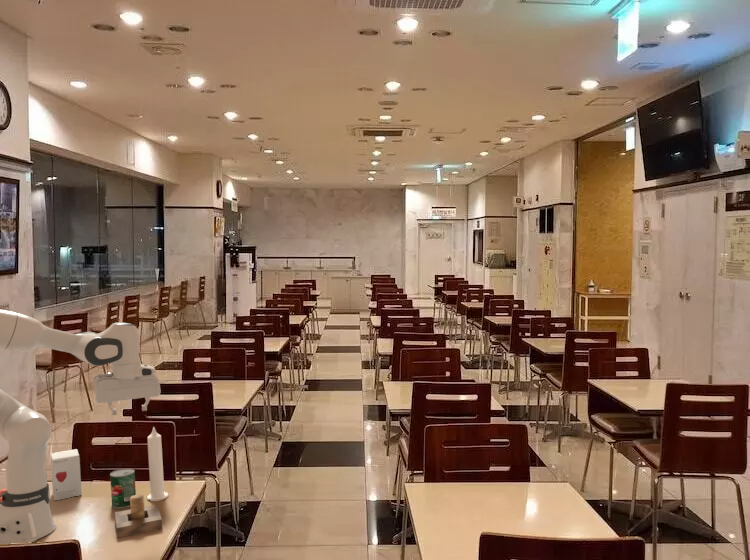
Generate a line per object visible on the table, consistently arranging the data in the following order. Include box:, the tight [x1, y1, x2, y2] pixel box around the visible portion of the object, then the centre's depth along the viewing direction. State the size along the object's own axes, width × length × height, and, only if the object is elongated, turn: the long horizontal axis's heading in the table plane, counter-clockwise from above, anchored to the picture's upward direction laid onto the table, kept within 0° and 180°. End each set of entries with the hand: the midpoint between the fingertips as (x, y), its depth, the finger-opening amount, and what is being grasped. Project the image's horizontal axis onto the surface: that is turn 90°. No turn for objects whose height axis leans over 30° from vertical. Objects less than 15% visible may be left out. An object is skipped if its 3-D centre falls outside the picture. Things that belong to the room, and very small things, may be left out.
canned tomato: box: [109, 468, 137, 509], centre depth 226 cm, size 8×8×11 cm
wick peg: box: [130, 494, 145, 521], centre depth 209 cm, size 4×4×9 cm
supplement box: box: [50, 448, 83, 501], centre depth 236 cm, size 9×9×15 cm
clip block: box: [114, 504, 163, 538], centre depth 209 cm, size 13×13×3 cm
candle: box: [146, 426, 169, 502], centre depth 230 cm, size 7×7×25 cm
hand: (129, 412), depth 218 cm, fingers open, 8 cm apart
